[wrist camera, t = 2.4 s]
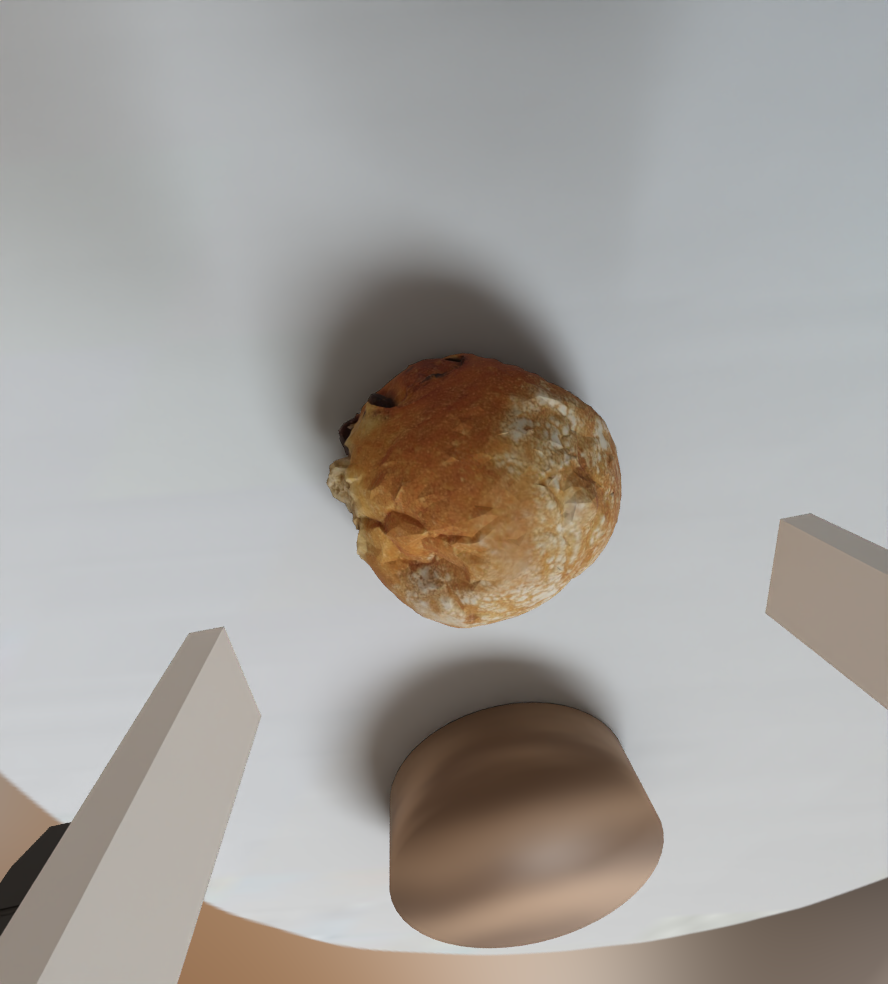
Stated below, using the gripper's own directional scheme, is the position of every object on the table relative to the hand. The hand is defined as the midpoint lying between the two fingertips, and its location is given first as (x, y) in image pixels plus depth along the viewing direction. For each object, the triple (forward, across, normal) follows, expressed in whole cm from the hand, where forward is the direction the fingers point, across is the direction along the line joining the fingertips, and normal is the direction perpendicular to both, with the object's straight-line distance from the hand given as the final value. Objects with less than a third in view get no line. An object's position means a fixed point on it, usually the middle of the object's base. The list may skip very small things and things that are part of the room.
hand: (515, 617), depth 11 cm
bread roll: (+9, 0, +1) cm, 9 cm away
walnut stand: (+9, 0, -20) cm, 21 cm away
